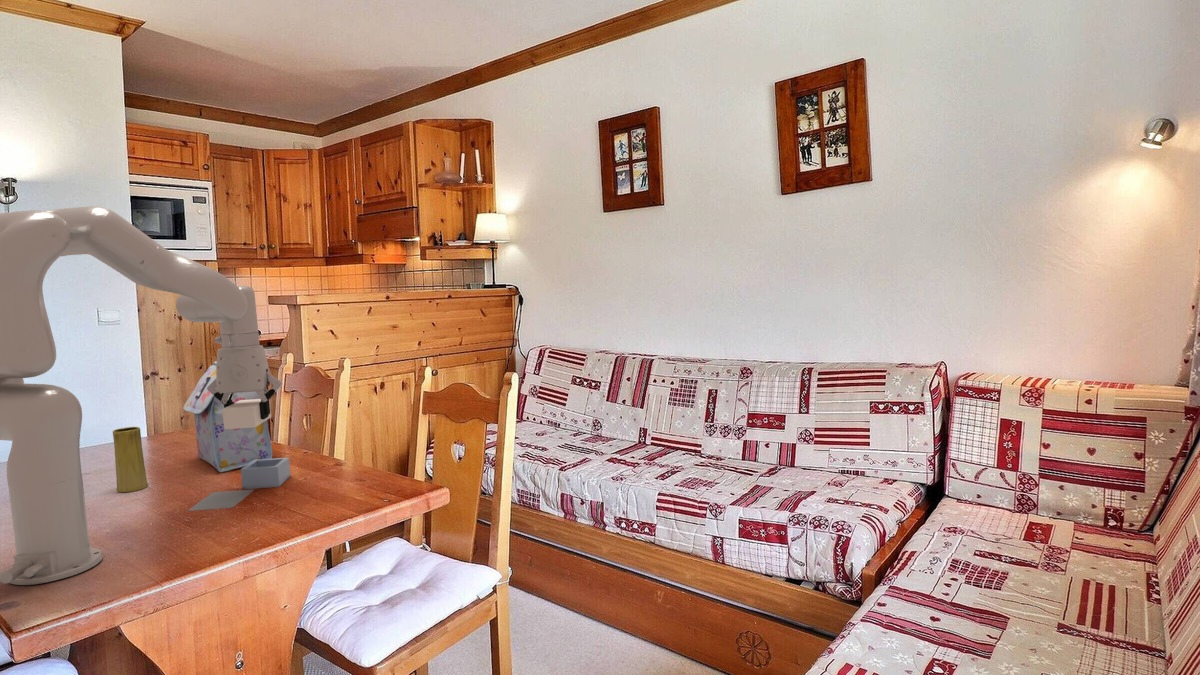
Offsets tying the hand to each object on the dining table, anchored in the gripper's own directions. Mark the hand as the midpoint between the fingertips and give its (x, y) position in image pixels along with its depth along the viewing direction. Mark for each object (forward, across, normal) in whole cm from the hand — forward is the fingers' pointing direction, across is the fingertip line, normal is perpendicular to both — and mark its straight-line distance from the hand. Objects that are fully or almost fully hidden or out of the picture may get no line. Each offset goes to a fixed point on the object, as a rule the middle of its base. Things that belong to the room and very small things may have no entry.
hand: (248, 418), depth 152 cm
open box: (+17, +2, +3) cm, 17 cm away
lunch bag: (+17, -16, +27) cm, 36 cm away
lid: (+1, 0, 0) cm, 1 cm away
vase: (+17, -30, +7) cm, 35 cm away
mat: (+16, -4, -8) cm, 19 cm away
